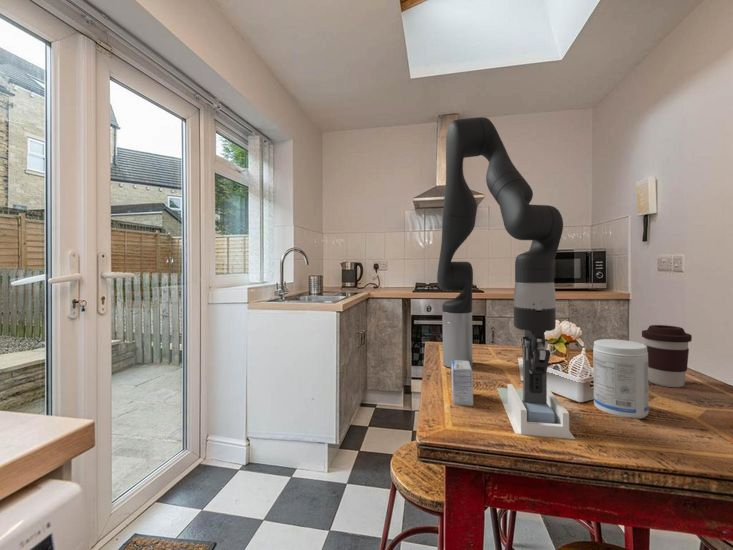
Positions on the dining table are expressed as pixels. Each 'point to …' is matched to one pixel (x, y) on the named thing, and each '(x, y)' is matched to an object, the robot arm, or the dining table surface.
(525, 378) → the lane block
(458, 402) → the medicine box
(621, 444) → the dining table surface
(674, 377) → the coffee cup
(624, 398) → the supplement tub
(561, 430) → the lane fixture
